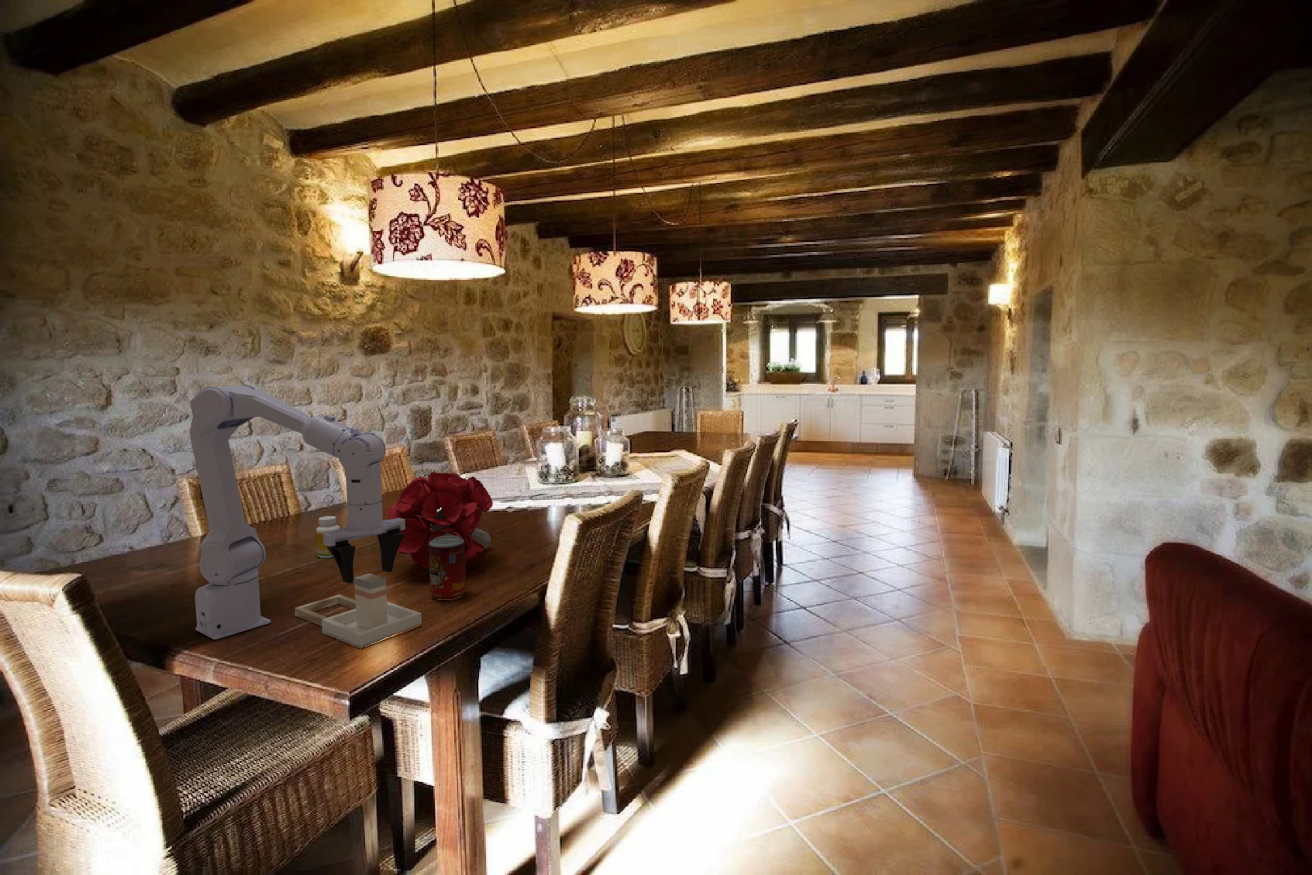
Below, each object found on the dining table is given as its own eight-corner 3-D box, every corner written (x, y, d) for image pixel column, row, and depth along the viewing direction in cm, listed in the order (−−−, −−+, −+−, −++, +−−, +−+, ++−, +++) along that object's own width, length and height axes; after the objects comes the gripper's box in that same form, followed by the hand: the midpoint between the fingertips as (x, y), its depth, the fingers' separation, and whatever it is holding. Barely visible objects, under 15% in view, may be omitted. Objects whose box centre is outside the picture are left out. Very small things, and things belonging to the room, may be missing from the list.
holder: (326, 628, 120) (325, 620, 120) (295, 615, 126) (294, 607, 126) (371, 613, 127) (371, 605, 127) (340, 601, 133) (339, 594, 133)
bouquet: (430, 576, 171) (355, 546, 144) (460, 490, 179) (394, 447, 152) (503, 591, 164) (438, 562, 137) (530, 501, 172) (474, 458, 146)
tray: (360, 649, 111) (360, 635, 111) (322, 632, 118) (321, 619, 117) (421, 626, 121) (421, 613, 121) (383, 612, 128) (382, 599, 127)
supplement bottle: (331, 559, 163) (329, 520, 162) (312, 558, 164) (310, 519, 163) (346, 553, 168) (344, 515, 167) (327, 552, 169) (325, 514, 168)
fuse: (372, 632, 117) (370, 582, 116) (356, 625, 119) (353, 577, 119) (388, 626, 119) (386, 578, 118) (371, 620, 122) (369, 573, 121)
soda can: (422, 599, 135) (421, 540, 133) (446, 588, 141) (445, 532, 140) (450, 604, 132) (448, 544, 131) (473, 593, 138) (471, 536, 137)
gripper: (337, 512, 109) (341, 591, 110) (414, 498, 121) (416, 570, 122) (315, 507, 113) (319, 583, 114) (391, 493, 125) (394, 563, 126)
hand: (368, 576), depth 118 cm, fingers open, 7 cm apart
